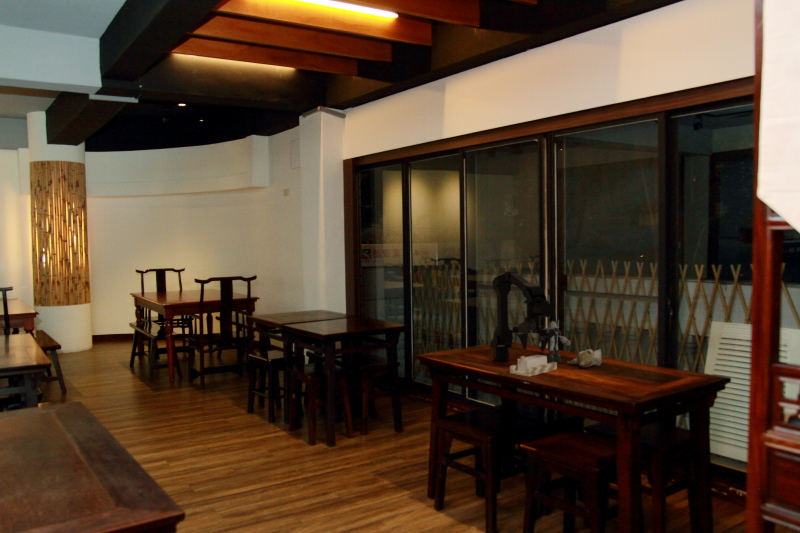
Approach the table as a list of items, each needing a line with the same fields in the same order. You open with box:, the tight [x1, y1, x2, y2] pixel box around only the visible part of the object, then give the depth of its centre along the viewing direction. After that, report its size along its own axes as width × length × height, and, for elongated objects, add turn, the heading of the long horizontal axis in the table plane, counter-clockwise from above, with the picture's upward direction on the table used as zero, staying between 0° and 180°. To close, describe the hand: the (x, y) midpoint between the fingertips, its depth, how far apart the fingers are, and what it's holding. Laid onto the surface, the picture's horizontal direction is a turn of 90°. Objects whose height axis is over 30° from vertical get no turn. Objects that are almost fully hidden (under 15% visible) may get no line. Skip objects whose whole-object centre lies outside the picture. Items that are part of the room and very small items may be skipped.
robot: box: [537, 318, 572, 364], centre depth 294 cm, size 20×5×20 cm, turn 122°
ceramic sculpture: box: [566, 347, 603, 368], centre depth 283 cm, size 11×9×15 cm
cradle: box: [509, 362, 558, 377], centre depth 275 cm, size 20×10×3 cm, turn 132°
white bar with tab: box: [517, 354, 548, 372], centre depth 275 cm, size 17×5×6 cm, turn 132°
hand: (533, 350), depth 275 cm, fingers open, 9 cm apart
